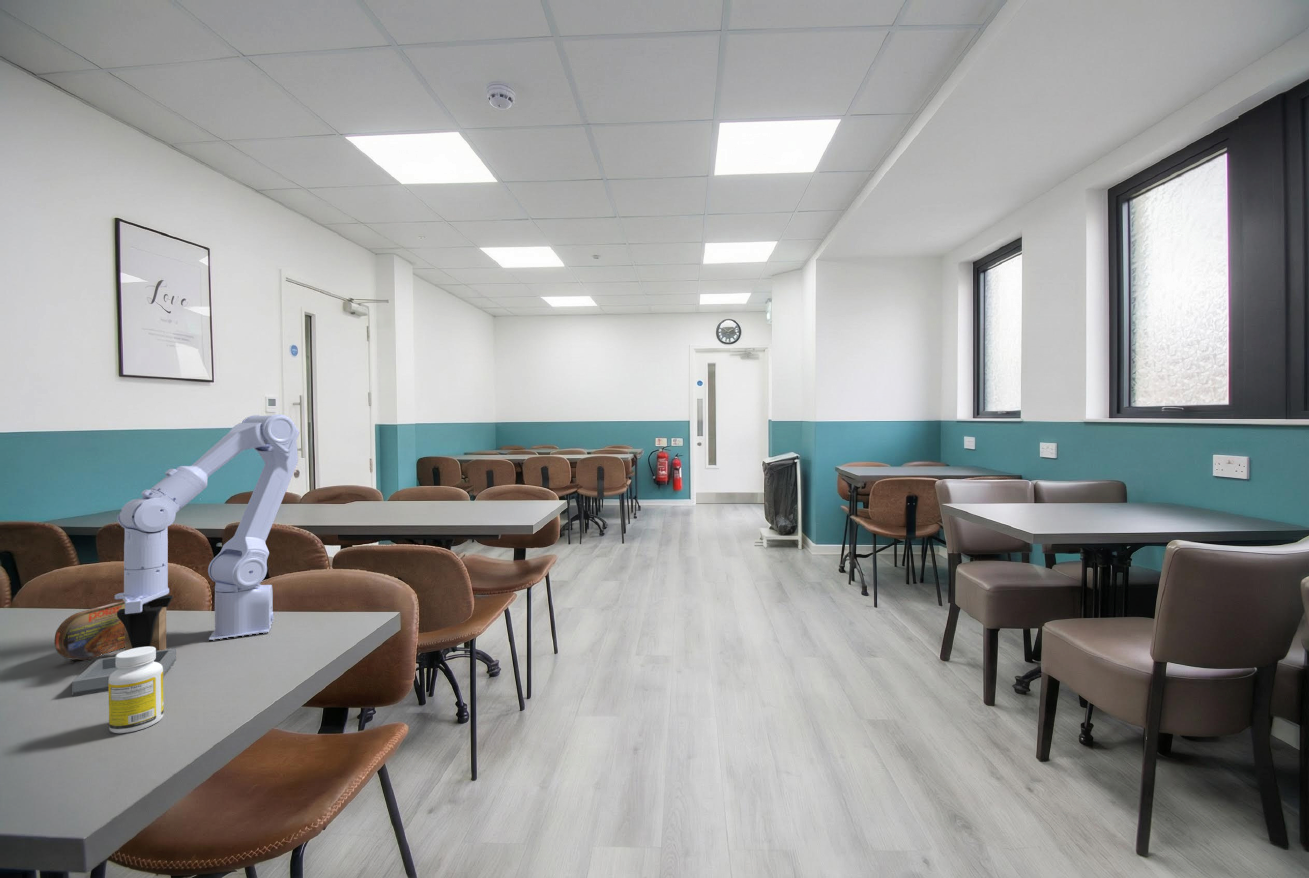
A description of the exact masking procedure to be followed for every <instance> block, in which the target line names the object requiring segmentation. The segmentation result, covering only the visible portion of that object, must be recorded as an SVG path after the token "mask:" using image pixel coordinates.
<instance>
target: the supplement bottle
mask: <svg viewBox="0 0 1309 878" xmlns="http://www.w3.org/2000/svg"><path fill="white" fill-rule="evenodd" d="M115 657H116V662H115V664H116V667H117V668H118V670H116V671H114V672H113V673H112V674H111V675H110V677H109V682H108V686H109V691H108V726H109V729H108V730H109V731H110V732H112V733H114V734H127V733H133V732H137V731H140V730H143V729H146V728H149V727H151V726H153V725H156V723H158V722H159V721H161V720H162V719H163V718H164V708H165V707H164V677H163V667H162V665H161V664H160V663H158V662H154V660H155V659H156V648H155V647H150V646H148V647H139V648H134V649H130V650H126V651H125V650H123V651H121V652H118V653H117V654H116V655H115Z"/></svg>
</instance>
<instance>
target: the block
mask: <svg viewBox="0 0 1309 878" xmlns="http://www.w3.org/2000/svg"><path fill="white" fill-rule="evenodd" d="M150 647H155V648H156V651H158V650H165V649H167V610H166V607H163V608H162V609H161V611H160V613H159V615H158V617H157V620H156V623H155V626H154V632H153V638H152V642H151V645H150ZM130 649H133V648H132V645H131V642H130V639H129V636H128V632H127V630H126V628H125V648H124V651H126V650H130Z"/></svg>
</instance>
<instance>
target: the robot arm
mask: <svg viewBox="0 0 1309 878" xmlns="http://www.w3.org/2000/svg"><path fill="white" fill-rule="evenodd" d="M299 434H300V430H299V429H298V427H297V426H296V424H295V423H294V421H293V419H291V417H289V416H287V415H284V414H280V413H278V414H277V413H276V414H273V415H259V414H257V415H256V414H254V415H249V416H247V417H246V418H244V419H243V420H242V422H240V423H237V424H235V425H234V426H233V427H232V428H231V429H230V430H229V432H227V434H225V435H224V436H223V437H222V438H221V439H220V440H218V441H216V443H215V444H214V445H213V446H211V448H209V449H208V450H207V451H206V452H205V453H204V454H203V455H201V456H200V457H199V458H198V459H197V460H196V461H194V463H193V464H192V465H180V466H177V467H176V468H169V469H167V470H166V471H165V472H164V474H165V475H166V476H165V477H164V478H162V479H161V480H160V481H159V482H157V483H156V484H155V485H154V486H152V487H151V488H149V489H144V490H143V491H142V492H141V493H140V494H141V495H142V497H140V498H137V499H131V500H129V501H128V502H126V503H125V504H124V505H123V506H122V507H121V508H120V510H121V511H120V512H119V514H117V515H116V520H117V523H118V524H119V525H120V526H121V527H122V528H123V529H124V543H123V552H124V553H123V592H119V593H116V594H115V595H114V600H122V601H124V602H125V609H120V610H119V611H118V612H117V617H118V618H119V619H120V620H121V622H122V623H123V624H124V626H125V628H126V630H127V632H128V636H129V639H130V642H131V645H132V648H133V649H134V648H139V647H148V646H150V645H151V642H152V638H153V632H154V626H155V623H156V620H157V617H158V615H159V613H160V611H161V609H162V608H163V607H166V611H167V610H168V607H169V605H170V604H171V602H172V600H173V598H174V596H173V595H171V594H170V588H169V587H168V586H169V585H168V583H169V563H168V561H169V560H168V559H169V558H168V557H169V555H168V554H169V553H168V550H169V548H168V546H169V544H168V543H169V541H168V540H169V539H168V537H169V536H168V535H169V534H168V531H169V529H168V527H169V526H172V525H173V523H174V522H175V520H176V514H177V513H178V512H179V511H180V510H182V509H184V507H185V506H186V505H188V504H189V503H190V502H192V500H194V499H195V497H197V496H198V495H199V494H200V493H202V492H203V491H204V490H205V489H207V487H208V478H209V477H210V476H211V475H213V474H214V473H215V472H217V471H218V470H219V469H221V468H222V467H223V466H225V465H226V464H227V463H229V462H230V461H231V460H232V459H234V458H235V457H237V456H238V455H239V454H240V453H242V452H243V451H246V450H250V449H253V450H254V451H256V452H257V453H258V454H259V456H260V457H261V459H262V461H263V462H264V465H263V468H262V470H261V473H260V475H259V478H258V480H257V482H256V484H255V487H254V489H253V491H252V494H251V497H250V498H249V501H248V504H247V506H246V508H245V510H244V512H243V515H242V517H241V519H240V522H239V524H238V526H237V528H236V530H235V533H234V535H233V537H231V538H230V539H229V540H228V541H226V542H225V543H224V544H223V545H222V547H221V550H220V552H219V553H218V554H216V556H215V557H213V559H212V560H211V561H210V562H209V565H208V568H207V572H208V576H209V579H211V580H212V582H215V585H214V630H213V632H212V633H211V635H210V636H209V637H208V641H209V640H213V639H219V638H220V640H222V639H221V638H227V639H229V638H228V637H234V636H235V637H234V638H237V637H236V636H242V637H245V636H244V635H249V636H253V635H252V634H256V635H260V634H259V633H263V634H268V633H269V632H270V631H271V628H272V626H271V624H272V625H273V623H274V617H275V616H274V611H273V608H274V607H273V598H274V595H273V585H272V584H261V583H262V581H264V579H265V577H266V575H267V573H268V565H267V564H268V563H267V561H268V558H269V555H270V551H269V549H268V546H267V544H266V541H267V539H268V536H269V534H270V532H271V529H272V527H273V524H274V522H275V519H276V517H277V514H278V511H279V509H280V507H281V505H282V502H283V499H284V497H285V494H286V492H287V489H288V487H289V485H290V483H291V480H292V477H293V475H294V473H295V470H296V468H297V465H298V461H299V455H298V445H297V443H298V442H297V440H298V437H299ZM272 622H273V623H272ZM269 630H270V631H269ZM267 632H268V633H267ZM213 641H214V640H213Z"/></svg>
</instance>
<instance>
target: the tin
mask: <svg viewBox="0 0 1309 878" xmlns="http://www.w3.org/2000/svg"><path fill="white" fill-rule="evenodd" d="M120 609H125V602H124V600H121V601H117V602H113V603H109V604H105V605H102V606H98V607H93V608H89V609H86V610H83V611H78V612H76V613H73V614H71V615H70V616H68V617H67V618H66V619H65V620H64V621H62V622H61V624H60V625H59V626H58V627H57V629H56V632H55V634H54V647H55V649H56V652H57V654H59V656H61V657H64V658H66V659H70V660H80V661H81V660H82V661H83V660H84V661H85V660H87V659H88V660H91V658H92V659H95V658H97V656H98V657H101V656H102V655H101V654H104V655H106V654H105V653H107V654H109V653H108V652H110V653H112V652H111V651H113V652H115V650H116V651H118V649H119V650H121V648H122V649H125V648H124V647H125V626H124V624H123V623H122V622H121V620H120V619H119V618H118V617H117V612H118V611H119V610H120ZM100 655H101V656H100ZM94 657H95V658H94Z"/></svg>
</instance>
